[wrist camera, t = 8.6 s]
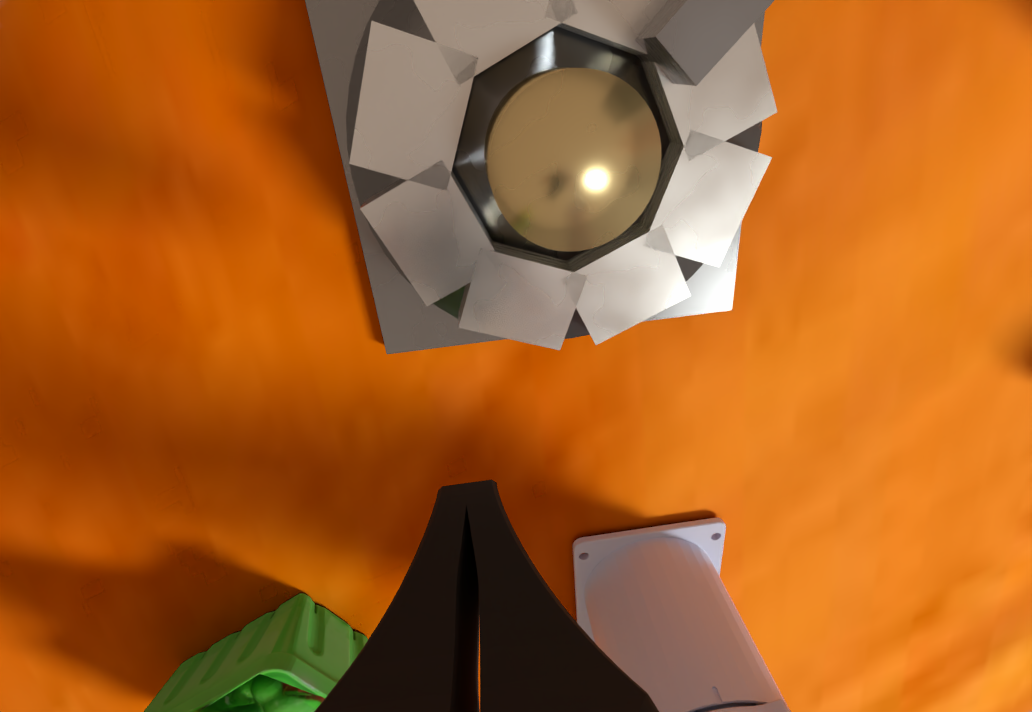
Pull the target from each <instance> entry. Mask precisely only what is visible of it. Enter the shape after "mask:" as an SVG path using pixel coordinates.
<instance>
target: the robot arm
mask: <svg viewBox="0 0 1032 712" xmlns="http://www.w3.org/2000/svg"><path fill="white" fill-rule="evenodd" d="M725 530H726V525H725V523H724V522H723V520H722V519H721V518H709V519H702V520H695V521H689V522H682V523H675V524H668V525H662V526H655V527H648V528H641V529H635V530H628V531H621V532H614V533H608V534H601V535H594V536H587V537H581V538H578V539H577V540H575V541H574V543H573V561H574V579H575V597H576V615H577V622H576V621H575V620H574V619H573V618H572V616H571V615H570V614H569V613H568V612H567V610H566V609H565V608H564V606H563V605H562V604H561V603H560V601H559V600H558V599H557V598H556V596H555V595H554V593H553V592H552V591H551V589H550V588H549V587H548V585H547V584H546V582H545V581H544V580H543V578H542V577H541V575H540V574H539V572H538V571H537V569H536V567H535V566H534V564H533V563H532V561H531V560H530V558H529V556H528V555H527V553H526V551H525V550H524V548H523V546H522V544H521V542H520V541H519V539H518V537H517V535H516V533H515V531H514V529H513V527H512V525H511V523H510V521H509V519H508V517H507V514H506V512H505V510H504V507H503V505H502V502H501V499H500V496H499V493H498V489H497V483H496V482H494V481H493V480H486V481H478V482H471V483H464V484H457V485H450V486H443V487H441V488H440V489H439V490H438V494H437V498H436V502H435V505H434V508H433V512H432V515H431V517H430V520H429V523H428V526H427V528H426V531H425V533H424V536H423V538H422V541H421V543H420V545H419V548H418V550H417V553H416V555H415V557H414V559H413V561H412V563H411V566H410V568H409V570H408V572H407V574H406V576H405V578H404V580H403V582H402V584H401V586H400V588H399V590H398V591H397V593H396V595H395V597H394V599H393V601H392V602H391V604H390V606H389V608H388V609H387V611H386V613H385V614H384V616H383V618H382V619H381V621H380V623H379V624H378V626H377V627H376V629H375V630H374V632H373V633H372V635H371V637H370V638H369V640H368V641H367V643H366V644H365V646H364V647H363V649H362V650H361V652H360V653H359V654H358V656H357V657H356V659H355V660H354V661H353V663H352V664H351V666H350V667H349V668H348V670H347V671H346V672H345V673H344V675H343V676H342V677H341V679H340V680H339V681H338V682H337V684H336V685H335V686H334V688H333V689H332V690H331V691H330V693H329V694H328V695H327V697H326V698H325V699H324V700H323V702H322V703H321V704H320V705H319V707H318V708H317V709H316V710H315V711H314V712H479V696H478V656H479V615H480V712H791V711H790V709H789V708H788V706H787V704H786V702H785V700H784V698H783V696H782V694H781V692H780V690H779V689H778V687H777V685H776V683H775V681H774V679H773V677H772V675H771V673H770V671H769V670H768V668H767V666H766V664H765V662H764V660H763V658H762V656H761V654H760V652H759V650H758V649H757V647H756V645H755V643H754V641H753V639H752V637H751V635H750V633H749V631H748V630H747V628H746V626H745V624H744V622H743V620H742V618H741V616H740V614H739V612H738V611H737V609H736V607H735V605H734V603H733V601H732V599H731V597H730V595H729V593H728V591H727V590H726V588H725V586H724V584H723V582H722V580H721V578H720V568H721V561H722V553H723V546H724V538H725ZM582 553H584V554H582Z"/></svg>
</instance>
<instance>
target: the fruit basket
mask: <svg viewBox="0 0 1032 712" xmlns="http://www.w3.org/2000/svg"><path fill="white" fill-rule="evenodd" d="M367 641H368V639H367V637H366V636H365V635H363V634H361V633H358V632H356V631H353V629H352V628H351V627H350V625H349V624H347V623H346V622H345V621H343V620H342V619H340V618H339V617H337V616H336V615H334V614H333V613H332V612H330V611H329V610H327V609H326V608H324V607H321V606H319V605H315V604H314V602H313V601H312V599H311V598H310V597H309V596H308V595H306V594H304V593H300V594H298V595H296V596H294V597H293V598H291V599H289V600H288V601H286V602H284V603H283V604H281V605H280V606H279V608H278V609H277V610H276V611H273V612H269V613H266V614H264V615H263V616H261V617H259V618H257V619H256V620H254V621H252V622H250V623H249V624H247V625H246V626H245V627H244V628H243V629H242V631H239V632H236V633H232V634H230V635H229V636H227V637H225V638H223V639H222V640H220V641H218V642H217V643H215V644H213V645H212V646H211V647H210V648H209V649H208V651H205V652H201V653H198V654H196V655H195V656H193V657H191V658H190V659H188V660H186V661H184V662H183V663H182V664H181V665H180V666H179V667H178V669H177V670H176V671H175V672H174V674H173V675H172V676H171V677H170V679H169V680H168V681H167V682H166V684H165V685H164V686H163V688H162V689H161V690H160V691H159V693H158V694H157V695H156V697H155V698H154V699H153V700H152V702H151V703H150V704H149V706H148V707H147V708H146V709H145V711H144V712H314V711H315V710H316V709H317V708H318V707H319V705H320V704H321V703H322V702H323V700H324V699H325V698H326V697H327V695H328V694H329V693H330V691H331V690H332V689H333V688H334V686H335V685H336V684H337V682H338V681H339V680H340V679H341V677H342V676H343V675H344V673H345V672H346V671H347V670H348V668H349V667H350V666H351V664H352V663H353V661H354V660H355V659H356V657H357V656H358V654H359V653H360V652H361V650H362V649H363V647H364V646H365V644H366V643H367Z"/></svg>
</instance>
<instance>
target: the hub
mask: <svg viewBox="0 0 1032 712" xmlns="http://www.w3.org/2000/svg"><path fill="white" fill-rule="evenodd" d="M305 2H306V7H307V11H308V15H309V20H310V24H311V28H312V33H313V37H314V41H315V46H316V50H317V54H318V59H319V63H320V67H321V72H322V76H323V80H324V85H325V89H326V93H327V98H328V102H329V106H330V111H331V115H332V119H333V124H334V128H335V132H336V137H337V141H338V145H339V150H340V154H341V158H342V163H343V167H344V171H345V176H346V180H347V184H348V189H349V193H350V197H351V202H352V206H353V210H354V214H355V219H356V223H357V227H358V232H359V236H360V240H361V245H362V249H363V253H364V258H365V262H366V266H367V271H368V275H369V279H370V284H371V288H372V292H373V297H374V301H375V305H376V310H377V314H378V318H379V323H380V327H381V331H382V336H383V340H384V344H385V349H386V353H387V354H393V353H401V352H409V351H416V350H424V349H432V348H440V347H448V346H455V345H463V344H471V343H479V342H487V341H494V340H502V339H507V338H503V337H498V336H494V335H489V334H485V333H480V332H476V331H471V330H467V329H462V328H459V325H458V312H459V308H460V304H461V301H462V297H463V293H464V290H465V286H466V285H465V286H463V287H461V288H459V289H458V290H456V291H454V292H452V293H450V294H449V295H447V296H445V297H443V298H441V299H440V300H438V301H436V302H434V303H432V304H431V305H429V306H426V304H425V303H424V301H423V300H422V298H421V297H420V296H419V294H418V293H417V291H416V290H415V288H414V287H413V285H412V284H411V282H410V281H409V280H408V278H407V277H406V275H405V274H404V272H403V271H402V269H401V268H400V266H399V265H398V264H397V262H396V261H395V259H394V258H393V256H392V255H391V253H390V252H389V250H388V249H387V247H386V246H385V245H384V243H383V242H382V240H381V239H380V237H379V236H378V234H377V233H376V231H375V230H374V229H373V227H372V226H371V224H370V223H369V221H368V220H367V218H366V217H365V215H364V214H363V212H362V211H361V210H360V208H361V206H362V205H363V203H364V201H365V200H366V199H367V198H369V197H371V196H372V195H374V194H376V193H378V192H379V191H381V190H383V189H384V188H386V187H388V186H389V185H391V184H393V183H394V182H396V181H398V180H399V179H401V178H398V177H395V176H391V175H388V174H384V173H380V172H377V171H373V170H370V169H366V168H363V167H359V166H355V165H352V164H349V162H350V155H351V149H352V143H353V136H354V130H355V123H356V117H357V111H358V104H359V98H360V91H361V85H362V79H363V72H364V66H365V59H366V53H367V47H368V40H369V34H370V27H371V21H374V22H377V23H380V24H383V25H386V26H389V27H392V28H395V29H398V30H401V31H403V32H406V33H409V34H412V35H415V36H418V37H421V38H424V39H427V40H430V41H433V42H435V40H434V38H433V36H432V34H431V32H430V30H429V29H428V27H427V25H426V23H425V21H424V19H423V17H422V15H421V13H420V12H419V10H418V8H417V6H416V4H415V2H414V0H305ZM764 13H765V11H764V12H763V13H762V15H761V16H760V17H759V18H758V19H757V20H756V21H755V22H754V24H755V28H756V32H757V36H758V39H759V43H760V47H761V41H762V31H763V22H764ZM761 129H762V121H760V122H759V123H757V124H755V125H753V126H751V127H750V128H748V129H746V130H744V131H742V132H741V133H739V134H737V135H735V136H733V137H732V138H730V139H728V140H726V142H729V143H731V144H734V145H737V146H740V147H743V148H746V149H749V150H752V151H755V152H758V148H759V142H760V136H761ZM669 142H670V141H669V138H668V136H667V133H666V130H665V127H664V125H663V122H662V119H661V116H660V114H659V111H658V108H657V105H656V103H655V100H654V97H653V94H652V92H651V89H650V86H649V83H648V81H647V78H646V75H645V72H644V70H643V67H642V64H641V62H640V61H639V59H638V58H637V57H636V56H635V55H634V54H631V53H628V52H626V51H623V50H620V49H617V48H615V47H612V46H609V45H606V44H604V43H601V42H598V41H596V40H593V39H590V38H587V37H585V36H582V35H579V34H577V33H574V32H571V31H568V30H566V29H563V28H560V27H557V26H555V27H554V28H552V29H550V30H549V31H547V32H545V33H544V34H542V35H541V36H539V37H537V38H536V39H534V40H532V41H531V42H529V43H528V44H526V45H524V46H523V47H521V48H519V49H518V50H516V51H515V52H513V53H511V54H510V55H508V56H506V57H505V58H503V59H502V60H500V61H498V62H497V63H495V64H493V65H492V66H490V67H489V68H487V69H485V70H484V71H482V72H480V73H479V74H477V75H476V76H474V78H473V82H472V86H471V91H470V95H469V99H468V103H467V108H466V112H465V116H464V120H463V125H462V129H461V133H460V137H459V141H458V146H457V150H456V154H455V158H454V163H453V167H452V171H453V173H454V175H455V176H456V178H457V180H458V182H459V183H460V185H461V187H462V188H463V190H464V192H465V194H466V195H467V197H468V199H469V201H470V202H471V204H472V206H473V208H474V209H475V211H476V213H477V215H478V216H479V218H480V220H481V221H482V223H483V225H484V227H485V228H486V230H487V232H488V234H489V235H490V237H491V239H492V241H495V242H499V243H502V244H506V245H510V246H514V247H517V248H521V249H525V250H529V251H533V252H536V253H540V254H544V255H548V256H552V257H555V258H559V259H563V260H569V259H571V258H573V257H574V256H576V255H578V254H580V253H582V252H584V251H585V250H587V249H591V248H594V247H598V246H600V245H603V244H605V243H607V242H609V241H611V240H613V239H614V238H616V237H617V236H619V235H620V234H622V233H623V232H624V231H625V230H627V229H628V228H629V227H630V226H631V225H633V224H635V223H637V222H638V220H639V217H640V215H641V213H642V212H643V211H644V209H645V207H646V206H647V204H648V203H649V201H650V199H651V197H652V195H653V192H654V190H655V187H656V184H657V181H658V177H659V172H660V167H661V162H662V159H663V157H664V154H665V152H666V149H667V147H668V144H669ZM741 222H742V221H741ZM740 231H741V223H740V225H739V227H738V229H737V231H736V233H735V235H734V238H733V240H732V242H731V244H730V246H729V248H728V250H727V252H726V254H725V256H724V258H723V260H722V263H721V265H720V267H716V266H712V265H709V264H705V263H702V262H698V261H694V260H691V259H687V258H684V257H680V256H677V255H675V257H676V259H677V262H678V264H679V267H680V269H681V272H682V274H683V277H684V279H685V282H686V284H687V287H688V289H689V292H690V294H691V296H690V297H688V298H686V299H684V300H682V301H680V302H679V303H677V304H675V305H673V306H671V307H669V308H667V309H665V310H663V311H661V312H659V313H657V314H655V315H653V316H651V317H649V318H648V319H646V320H644V321H650V320H658V319H666V318H674V317H681V316H689V315H697V314H705V313H712V312H720V311H728V310H732V304H733V295H734V286H735V277H736V268H737V259H738V250H739V240H740ZM584 335H590V333H589V331H588V330H587V328H586V326H585V324H584V322H583V320H582V318H581V316H580V314H579V312H578V311H577V309H575V311H574V314H573V317H572V319H571V322H570V325H569V327H568V330H567V333H566V335H565V338H564V339H567V338H574V337H579V336H584Z"/></svg>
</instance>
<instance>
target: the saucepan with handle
mask: <svg viewBox="0 0 1032 712" xmlns="http://www.w3.org/2000/svg"><path fill="white" fill-rule="evenodd" d="M773 1H774V0H414V2H415V4H416V6H417V8H418V10H419V12H420V13H421V15H422V17H423V19H424V21H425V23H426V25H427V27H428V29H429V30H430V32H431V34H432V36H433V38H434V40H435V42H433V41H430V40H427V39H424V38H421V37H418V36H415V35H412V34H409V33H406V32H403V31H401V30H398V29H395V28H392V27H389V26H386V25H383V24H380V23H377V22H374V21H371V27H370V34H369V40H368V47H367V53H366V59H365V66H364V72H363V79H362V85H361V91H360V98H359V104H358V111H357V117H356V123H355V130H354V136H353V143H352V149H351V155H350V162H349V164H352V165H355V166H359V167H363V168H366V169H370V170H373V171H377V172H380V173H384V174H388V175H391V176H395V177H398V178H401V179H399V180H398V181H396V182H394V183H393V184H391V185H389V186H388V187H386V188H384V189H383V190H381V191H379V192H378V193H376V194H374V195H372V196H371V197H369V198H367V199H366V200H365V201H364V203H363V205H362V206H361V208H360V210H361V211H362V212H363V214H364V215H365V217H366V218H367V220H368V221H369V223H370V224H371V226H372V227H373V229H374V230H375V231H376V233H377V234H378V236H379V237H380V239H381V240H382V242H383V243H384V245H385V246H386V247H387V249H388V250H389V252H390V253H391V255H392V256H393V258H394V259H395V261H396V262H397V264H398V265H399V266H400V268H401V269H402V271H403V272H404V274H405V275H406V277H407V278H408V280H409V281H410V282H411V284H412V285H413V287H414V288H415V290H416V291H417V293H418V294H419V296H420V297H421V298H422V300H423V301H424V303H425V304H426V306H429V305H431V304H432V303H434V302H436V301H438V300H440V299H441V298H443V297H445V296H447V295H449V294H450V293H452V292H454V291H456V290H458V289H459V288H461V287H463V286H465V285H466V286H465V290H464V293H463V297H462V301H461V304H460V308H459V312H458V325H459V328H462V329H467V330H471V331H476V332H480V333H485V334H489V335H494V336H498V337H503V338H507V339H512V340H516V341H521V342H525V343H529V344H534V345H538V346H543V347H547V348H552V349H556V350H560V349H561V346H562V343H563V341H564V338H565V335H566V333H567V330H568V327H569V325H570V322H571V319H572V317H573V314H574V311H575V309H577V311H578V312H579V314H580V316H581V318H582V320H583V322H584V324H585V326H586V328H587V330H588V331H589V333H590V335H591V337H592V339H593V341H594V343H595V345H597V344H599V343H601V342H603V341H605V340H607V339H609V338H611V337H613V336H615V335H617V334H619V333H620V332H622V331H624V330H626V329H628V328H630V327H632V326H634V325H636V324H638V323H640V322H642V321H644V320H646V319H648V318H649V317H651V316H653V315H655V314H657V313H659V312H661V311H663V310H665V309H667V308H669V307H671V306H673V305H675V304H677V303H679V302H680V301H682V300H684V299H686V298H688V297H690V296H691V294H690V292H689V289H688V287H687V284H686V282H685V279H684V277H683V274H682V272H681V269H680V267H679V264H678V262H677V259H676V257H675V255H677V256H680V257H684V258H687V259H691V260H694V261H698V262H702V263H705V264H709V265H712V266H716V267H720V265H721V263H722V260H723V258H724V256H725V254H726V252H727V250H728V248H729V246H730V244H731V242H732V240H733V238H734V235H735V233H736V231H737V229H738V227H739V225H740V223H741V221H742V219H743V217H744V215H745V213H746V211H747V208H748V206H749V204H750V202H751V200H752V198H753V196H754V194H755V192H756V190H757V188H758V186H759V183H760V181H761V179H762V177H763V175H764V173H765V171H766V169H767V167H768V165H769V163H770V161H771V159H772V157H770V156H767V155H764V154H761V153H758V152H755V151H752V150H749V149H746V148H743V147H740V146H737V145H734V144H731V143H729V142H726V140H728V139H730V138H732V137H733V136H735V135H737V134H739V133H741V132H742V131H744V130H746V129H748V128H750V127H751V126H753V125H755V124H757V123H759V122H760V121H762V120H764V119H766V118H768V117H769V116H771V115H773V114H775V113H777V109H776V105H775V101H774V97H773V93H772V89H771V86H770V82H769V78H768V74H767V70H766V66H765V62H764V59H763V55H762V51H761V47H760V43H759V39H758V36H757V32H756V28H755V24H754V22H755V21H756V20H757V19H758V18H759V17H760V16H761V15H762V13H763V12H764V11H765V10H766V9H767V8H768V7H769V6H770V5H771V4H772V2H773ZM555 26H557V27H560V28H563V29H566V30H568V31H571V32H574V33H577V34H579V35H582V36H585V37H587V38H590V39H593V40H596V41H598V42H601V43H604V44H606V45H609V46H612V47H615V48H617V49H620V50H623V51H626V52H628V53H631V54H634V55H635V56H636V57H637V58H638V59H639V61H640V62H641V64H642V67H643V70H644V72H645V75H646V78H647V81H648V83H649V86H650V89H651V92H652V94H653V97H654V100H655V103H656V105H657V108H658V111H659V114H660V116H661V119H662V122H663V125H664V127H665V130H666V133H667V136H668V138H669V141H670V142H669V144H668V147H667V149H666V152H665V154H664V157H663V159H662V162H661V167H660V172H659V177H658V181H657V184H656V187H655V190H654V192H653V195H652V197H651V199H650V201H649V203H648V204H647V206H646V207H645V209H644V211H643V212H642V213H641V215H640V217H639V220H638V222H637V223H635V224H633V225H631V226H630V227H629V228H628V229H627V230H625V231H624V232H623V233H622V234H620V235H619V236H617V237H616V238H614V239H613V240H611V241H609V242H607V243H605V244H603V245H600V246H598V247H594V248H591V249H587V250H585V251H584V252H582V253H580V254H578V255H576V256H574V257H573V258H571V259H569V260H563V259H559V258H555V257H552V256H548V255H544V254H540V253H536V252H533V251H529V250H525V249H521V248H517V247H514V246H510V245H506V244H502V243H499V242H495V241H492V239H491V237H490V235H489V234H488V232H487V230H486V228H485V227H484V225H483V223H482V221H481V220H480V218H479V216H478V215H477V213H476V211H475V209H474V208H473V206H472V204H471V202H470V201H469V199H468V197H467V195H466V194H465V192H464V190H463V188H462V187H461V185H460V183H459V182H458V180H457V178H456V176H455V175H454V173H453V171H452V167H453V163H454V158H455V154H456V150H457V146H458V141H459V137H460V133H461V129H462V125H463V120H464V116H465V112H466V108H467V103H468V99H469V95H470V91H471V86H472V82H473V78H474V76H476V75H477V74H479V73H480V72H482V71H484V70H485V69H487V68H489V67H490V66H492V65H493V64H495V63H497V62H498V61H500V60H502V59H503V58H505V57H506V56H508V55H510V54H511V53H513V52H515V51H516V50H518V49H519V48H521V47H523V46H524V45H526V44H528V43H529V42H531V41H532V40H534V39H536V38H537V37H539V36H541V35H542V34H544V33H545V32H547V31H549V30H550V29H552V28H554V27H555Z"/></svg>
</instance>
